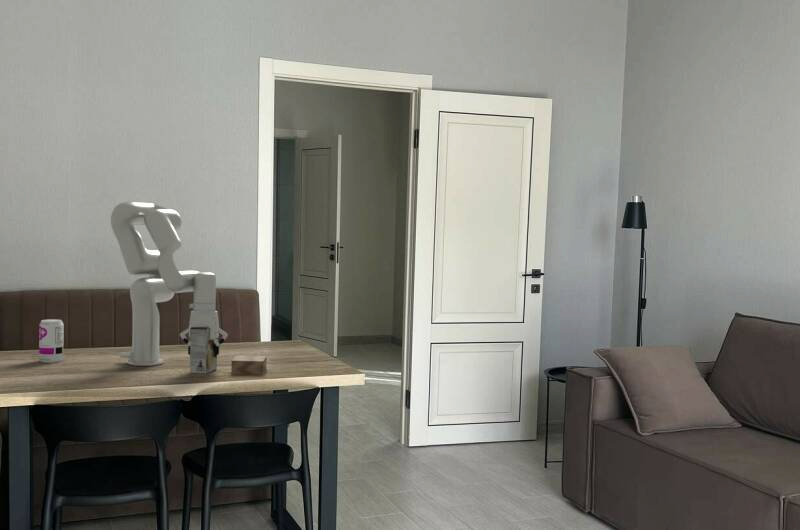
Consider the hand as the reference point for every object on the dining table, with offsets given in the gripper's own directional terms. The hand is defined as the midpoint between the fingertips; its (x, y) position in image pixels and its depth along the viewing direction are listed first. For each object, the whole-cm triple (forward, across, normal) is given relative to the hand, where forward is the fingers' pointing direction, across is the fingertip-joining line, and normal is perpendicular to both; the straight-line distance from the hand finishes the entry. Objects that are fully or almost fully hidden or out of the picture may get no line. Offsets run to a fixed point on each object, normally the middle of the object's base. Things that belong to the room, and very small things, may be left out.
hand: (203, 356), depth 287 cm
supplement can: (+5, -56, +19) cm, 59 cm away
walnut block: (+6, +16, 0) cm, 17 cm away
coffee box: (+5, 0, 0) cm, 5 cm away
